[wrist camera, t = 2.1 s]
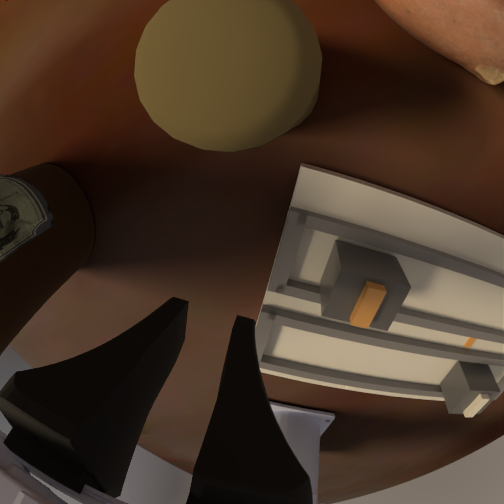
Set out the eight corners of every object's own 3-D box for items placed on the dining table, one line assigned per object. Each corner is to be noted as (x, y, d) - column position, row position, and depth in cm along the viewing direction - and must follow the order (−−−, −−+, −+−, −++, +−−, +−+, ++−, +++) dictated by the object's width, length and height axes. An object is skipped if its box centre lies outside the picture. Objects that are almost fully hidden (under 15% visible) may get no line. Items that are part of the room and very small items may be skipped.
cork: (316, 33, 14) (330, -59, 4) (322, 134, 16) (349, 177, 7) (209, 41, 15) (97, -15, 5) (217, 138, 18) (113, 187, 8)
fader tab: (377, 296, 19) (389, 337, 15) (319, 282, 19) (321, 323, 16) (396, 256, 18) (414, 293, 14) (335, 239, 18) (342, 274, 14)
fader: (469, 386, 22) (481, 419, 18) (439, 383, 22) (450, 419, 18) (488, 364, 20) (502, 397, 17) (458, 360, 20) (472, 396, 17)
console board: (482, 394, 24) (487, 408, 22) (246, 357, 25) (242, 374, 23) (567, 268, 16) (579, 280, 15) (301, 162, 17) (301, 169, 16)
